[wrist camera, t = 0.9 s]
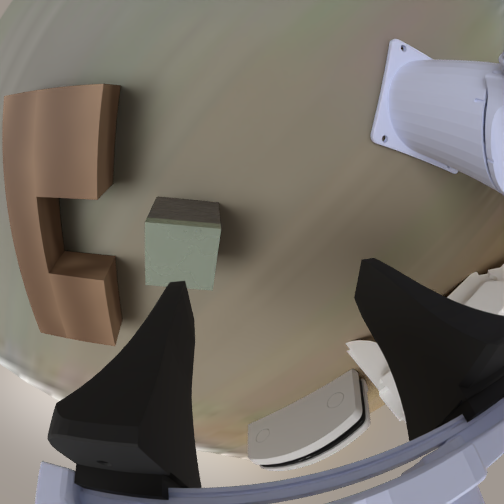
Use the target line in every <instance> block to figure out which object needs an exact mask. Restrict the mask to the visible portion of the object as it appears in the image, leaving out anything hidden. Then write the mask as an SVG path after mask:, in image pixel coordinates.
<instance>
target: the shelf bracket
mask: <svg viewBox="0 0 504 504" xmlns="http://www.w3.org/2000/svg"><path fill="white" fill-rule="evenodd" d="M447 298H449V299H451V300H453V301H456V302H458V303H461V304H463V305H466V306H469V307H472V308H475V309H478V310H481V311H485V312H489V313H493V314H497V315H502V316H504V264H503V265H502V266H501V267H500V268H495V269H490V270H488V273H487V274H482V275H478V273H477V272H474V273H472V274H470V275H469V276H468V277H467V278H466V279H465V280H464V281H463V282H462V283H461V284H460V285H459V286H458V287H457V288H456V289H455V290H454V291H453V292H452V293H451V294H450V295H449V296H448V297H447ZM346 345H347V346H348V347H349V348H350V350H348V351H347V352H348V353H349V354H350V356H351V357H352V358H353V359H354V361H355V362H356V363H357V364H358V365H359V367H360V368H361V369H362V370H363V371H364V373H365V374H366V375H367V376H368V378H369V379H370V380H371V381H372V382H373V384H374V385H375V386H376V387H377V389H378V390H379V396H380V397H381V399H382V400H383V401H384V402H385V404H386V405H387V406H388V407H389V408H390V410H391V411H392V412H393V413H394V415H395V416H396V417H397V418H398V420H399V421H401V420H404V422H405V423H406V419H405V415H404V411H403V407H402V403H401V400H400V396H399V393H398V390H397V387H396V384H395V381H394V378H393V376H392V373H391V371H390V368H389V366H388V363H387V361H386V359H385V357H384V355H383V353H382V351H381V349H380V348H379V346H378V344H377V343H376V342H372V341H365V340H357V341H350V342H348V343H346Z"/></svg>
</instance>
